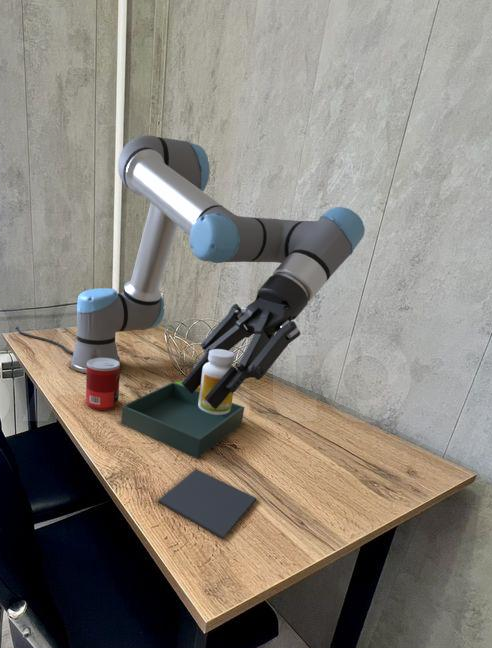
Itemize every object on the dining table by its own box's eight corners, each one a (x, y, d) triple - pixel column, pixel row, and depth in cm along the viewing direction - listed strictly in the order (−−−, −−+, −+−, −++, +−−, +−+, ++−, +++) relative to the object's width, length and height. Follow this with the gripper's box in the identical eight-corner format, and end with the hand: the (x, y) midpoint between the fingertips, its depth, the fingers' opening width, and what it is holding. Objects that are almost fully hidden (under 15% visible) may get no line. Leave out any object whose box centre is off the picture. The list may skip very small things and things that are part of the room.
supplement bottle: (235, 415, 64) (245, 358, 61) (203, 416, 63) (211, 358, 60) (223, 400, 69) (231, 347, 66) (193, 401, 68) (200, 347, 65)
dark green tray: (121, 423, 91) (122, 406, 89) (171, 397, 106) (172, 382, 104) (197, 458, 79) (200, 439, 78) (241, 423, 94) (244, 407, 93)
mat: (158, 502, 66) (158, 499, 66) (195, 471, 75) (195, 469, 75) (223, 539, 60) (223, 536, 59) (255, 500, 68) (256, 498, 68)
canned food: (121, 409, 97) (123, 367, 93) (88, 412, 95) (89, 369, 91) (114, 396, 104) (115, 356, 100) (83, 398, 102) (84, 357, 98)
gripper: (347, 317, 60) (249, 434, 58) (257, 294, 75) (177, 387, 73) (332, 282, 56) (226, 408, 54) (240, 265, 70) (154, 363, 69)
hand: (198, 395), depth 63 cm, fingers closed on supplement bottle, 5 cm apart
